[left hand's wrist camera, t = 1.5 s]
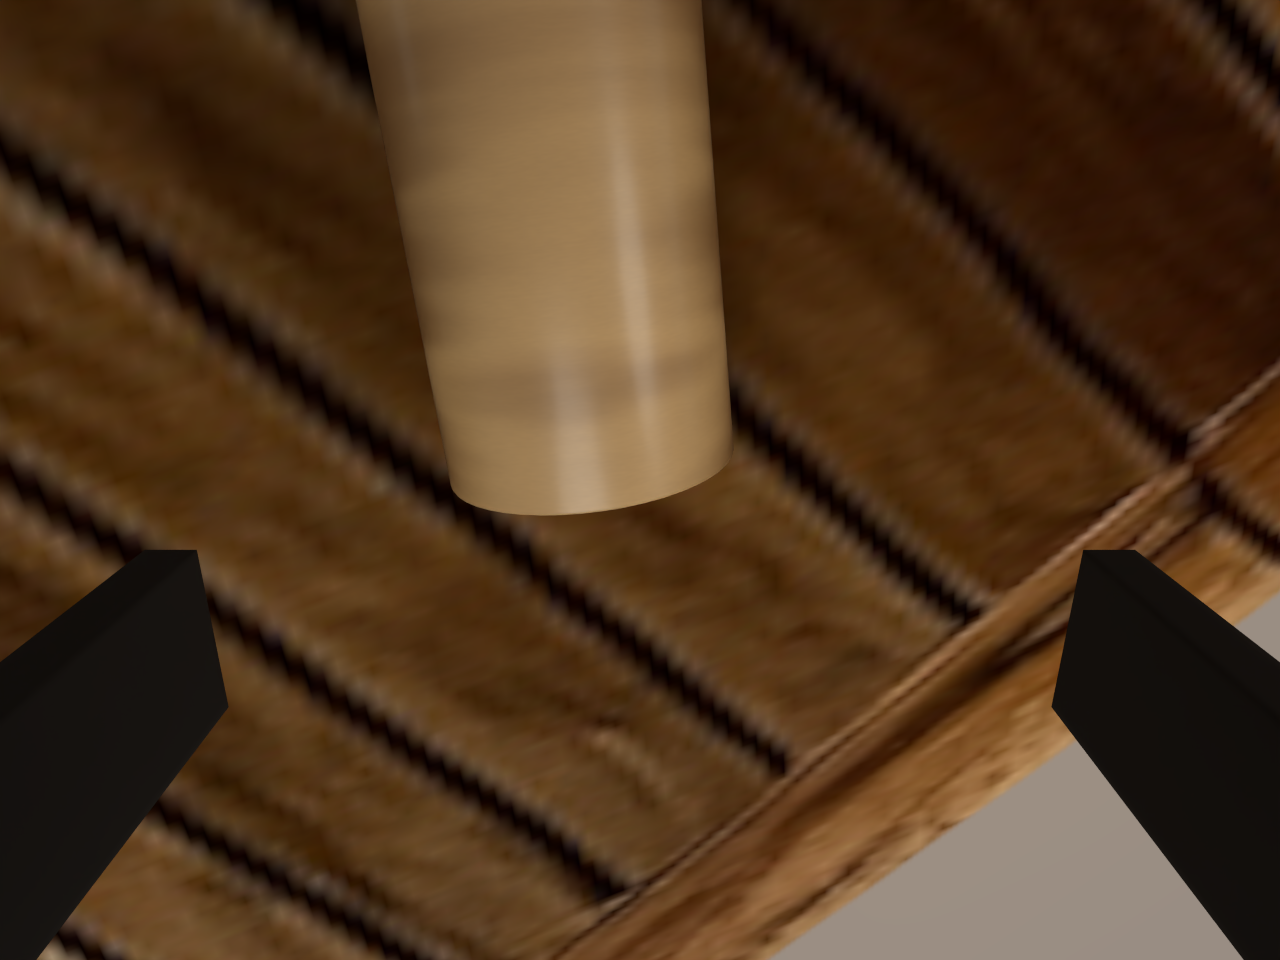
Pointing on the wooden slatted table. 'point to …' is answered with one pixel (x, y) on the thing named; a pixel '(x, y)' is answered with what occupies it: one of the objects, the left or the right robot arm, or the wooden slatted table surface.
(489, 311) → the tan wooden cylinder
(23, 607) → the wooden slatted table surface
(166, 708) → the left robot arm
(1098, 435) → the wooden slatted table surface
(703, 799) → the wooden slatted table surface
